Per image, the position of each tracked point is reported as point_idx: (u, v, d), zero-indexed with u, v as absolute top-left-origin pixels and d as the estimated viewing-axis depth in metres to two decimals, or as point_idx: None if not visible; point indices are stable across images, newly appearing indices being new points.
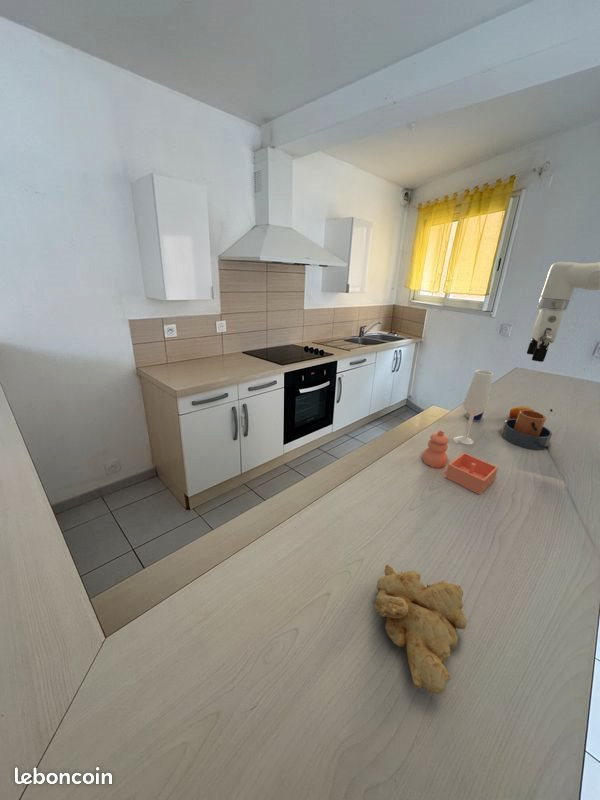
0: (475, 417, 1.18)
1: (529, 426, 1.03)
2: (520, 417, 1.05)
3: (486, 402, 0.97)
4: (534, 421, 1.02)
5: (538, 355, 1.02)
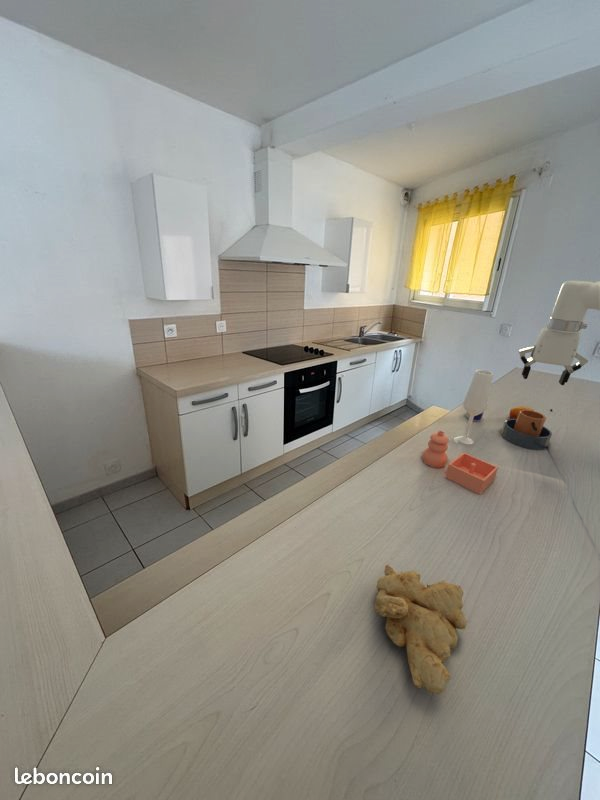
0: (475, 417, 1.18)
1: (529, 426, 1.03)
2: (520, 417, 1.05)
3: (486, 402, 0.97)
4: (534, 421, 1.02)
5: None
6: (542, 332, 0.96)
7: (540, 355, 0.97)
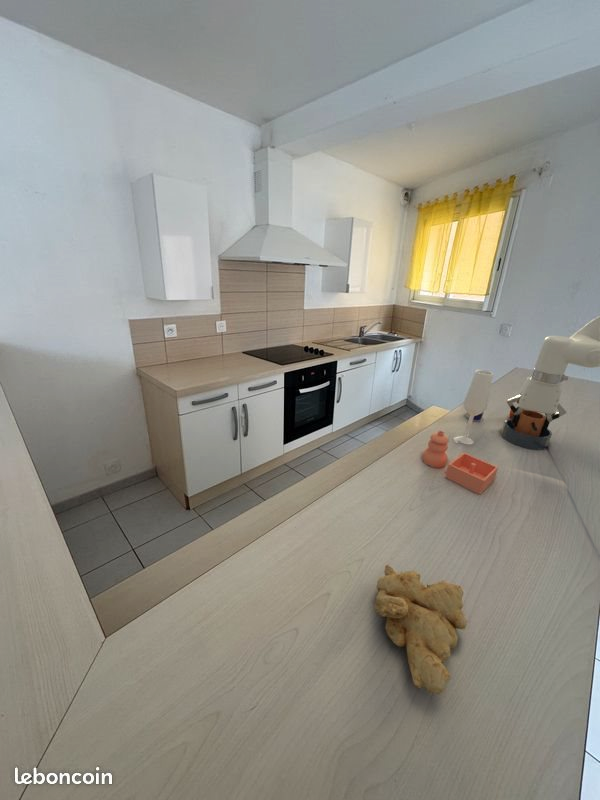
0: (475, 417, 1.18)
1: (529, 426, 1.03)
2: (520, 417, 1.05)
3: (486, 402, 0.97)
4: (534, 421, 1.02)
5: None
6: (527, 382, 1.01)
7: (525, 403, 1.02)
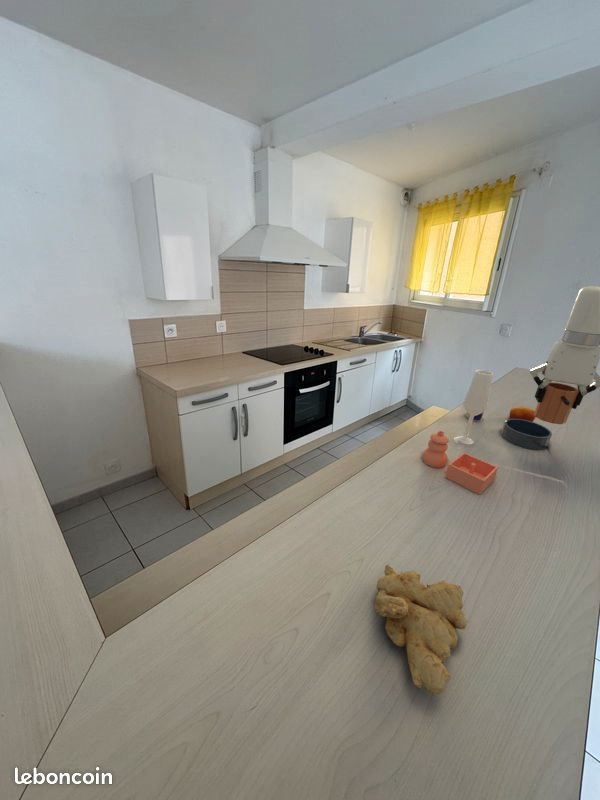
0: (475, 417, 1.18)
1: (558, 401, 0.84)
2: (546, 390, 0.86)
3: (486, 402, 0.97)
4: (565, 394, 0.83)
5: None
6: (555, 346, 0.82)
7: (553, 373, 0.83)
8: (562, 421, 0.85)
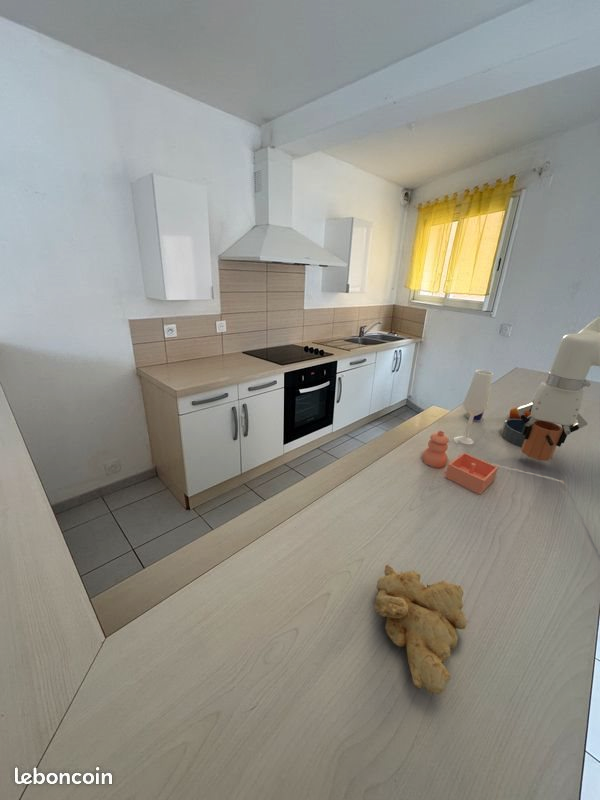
0: (475, 417, 1.18)
1: (544, 439, 0.88)
2: (532, 428, 0.90)
3: (486, 402, 0.97)
4: (549, 434, 0.87)
5: None
6: (541, 388, 0.87)
7: (539, 413, 0.87)
8: (547, 458, 0.90)
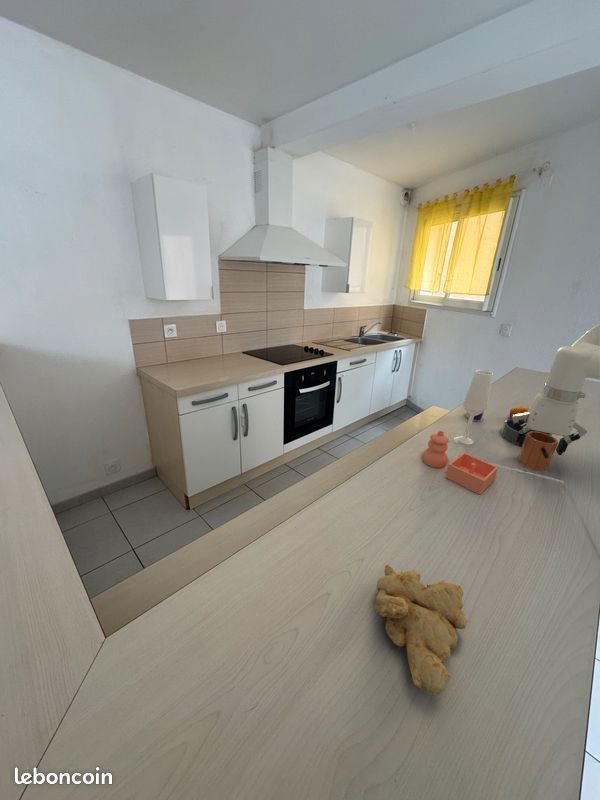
0: (475, 417, 1.18)
1: (539, 451, 0.89)
2: (528, 440, 0.92)
3: (486, 402, 0.97)
4: (544, 446, 0.88)
5: None
6: (537, 399, 0.88)
7: (535, 423, 0.89)
8: (543, 469, 0.91)
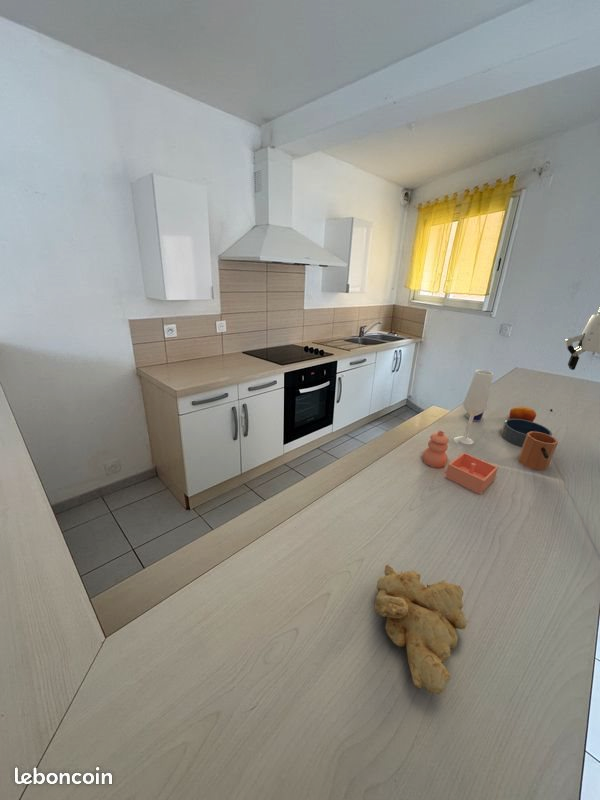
0: (475, 417, 1.18)
1: (539, 451, 0.89)
2: (528, 440, 0.92)
3: (486, 402, 0.97)
4: (544, 446, 0.88)
5: None
6: (593, 319, 0.90)
7: (590, 344, 0.90)
8: (543, 469, 0.91)
